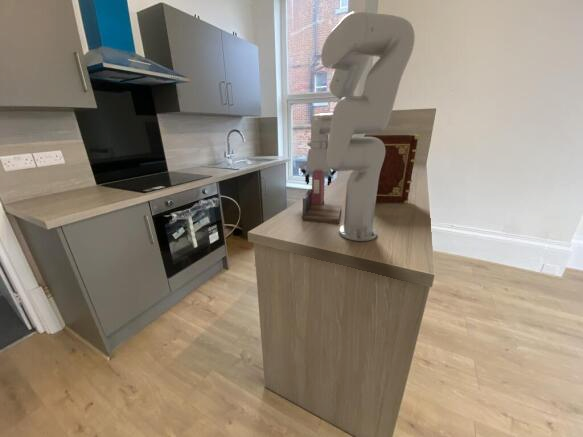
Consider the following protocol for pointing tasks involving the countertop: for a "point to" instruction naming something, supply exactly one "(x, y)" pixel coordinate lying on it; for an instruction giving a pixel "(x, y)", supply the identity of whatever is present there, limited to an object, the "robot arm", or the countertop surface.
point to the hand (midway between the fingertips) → (318, 184)
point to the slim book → (318, 187)
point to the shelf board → (323, 214)
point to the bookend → (307, 202)
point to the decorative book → (396, 168)
